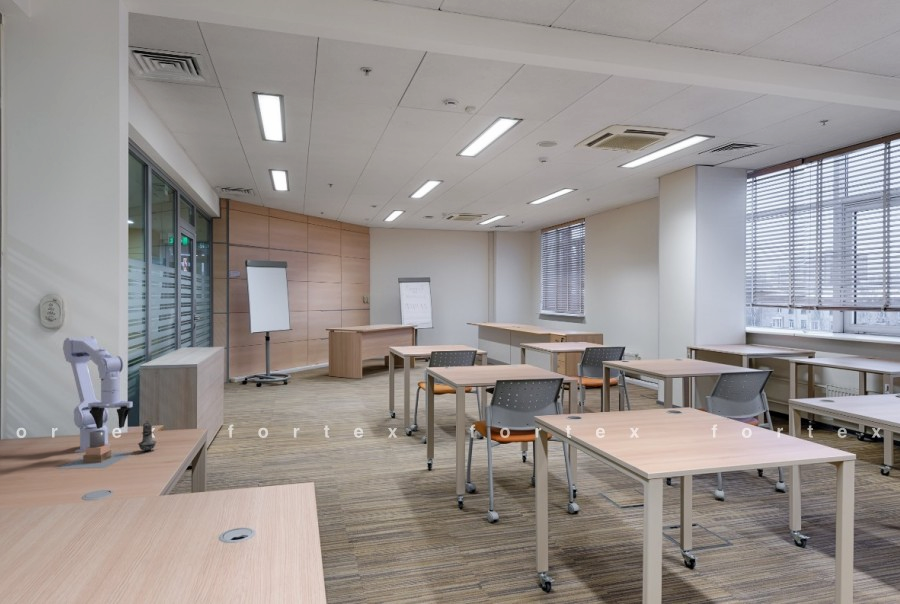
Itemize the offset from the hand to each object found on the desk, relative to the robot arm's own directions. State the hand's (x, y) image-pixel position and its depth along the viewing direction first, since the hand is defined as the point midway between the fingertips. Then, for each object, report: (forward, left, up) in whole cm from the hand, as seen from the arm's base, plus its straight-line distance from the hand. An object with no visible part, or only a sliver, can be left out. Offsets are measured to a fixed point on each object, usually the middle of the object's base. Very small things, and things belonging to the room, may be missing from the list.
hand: (110, 427), depth 189 cm
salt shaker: (-4, +11, -11) cm, 16 cm away
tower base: (+6, -1, -10) cm, 12 cm away
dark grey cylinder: (+6, -1, -5) cm, 8 cm away
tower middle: (+6, -1, -8) cm, 10 cm away
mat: (+6, -1, -10) cm, 12 cm away
